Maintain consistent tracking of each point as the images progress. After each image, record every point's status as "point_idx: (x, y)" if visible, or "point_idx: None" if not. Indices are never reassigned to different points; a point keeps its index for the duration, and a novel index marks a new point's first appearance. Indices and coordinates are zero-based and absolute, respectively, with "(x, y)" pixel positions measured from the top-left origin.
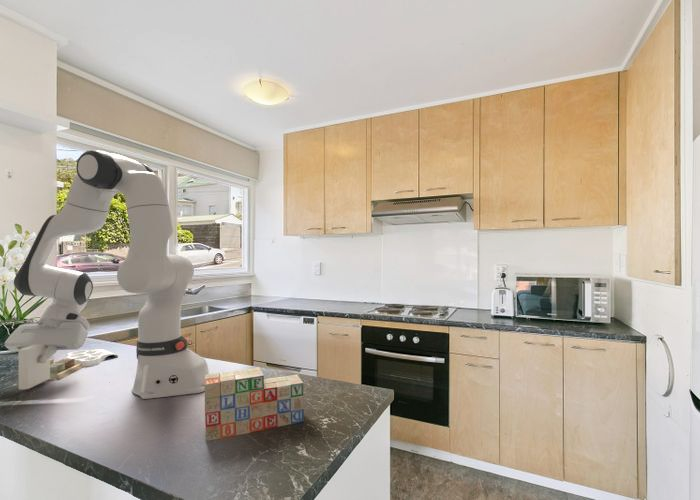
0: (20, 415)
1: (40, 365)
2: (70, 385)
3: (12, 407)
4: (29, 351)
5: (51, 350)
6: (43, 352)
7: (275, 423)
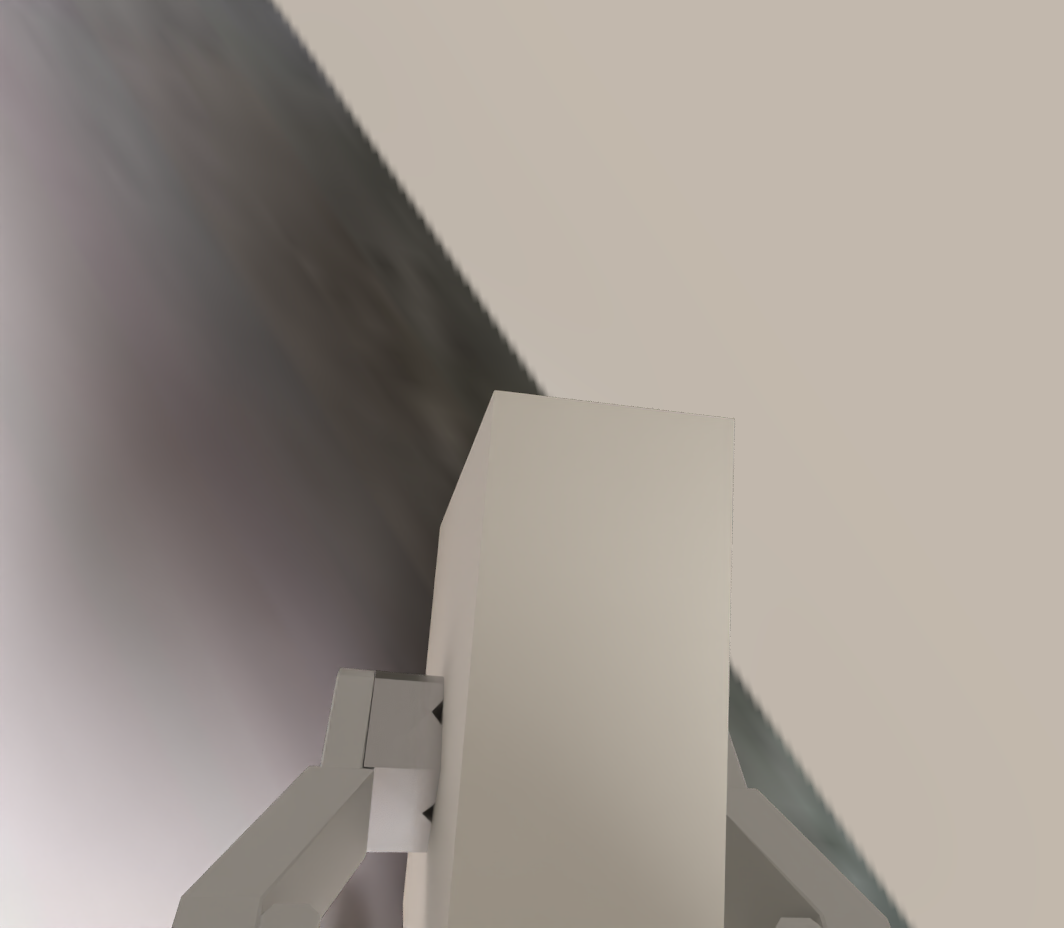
0: (204, 59)
1: None
2: (118, 814)
3: (399, 262)
4: (485, 452)
5: (198, 892)
6: (429, 913)
7: None
